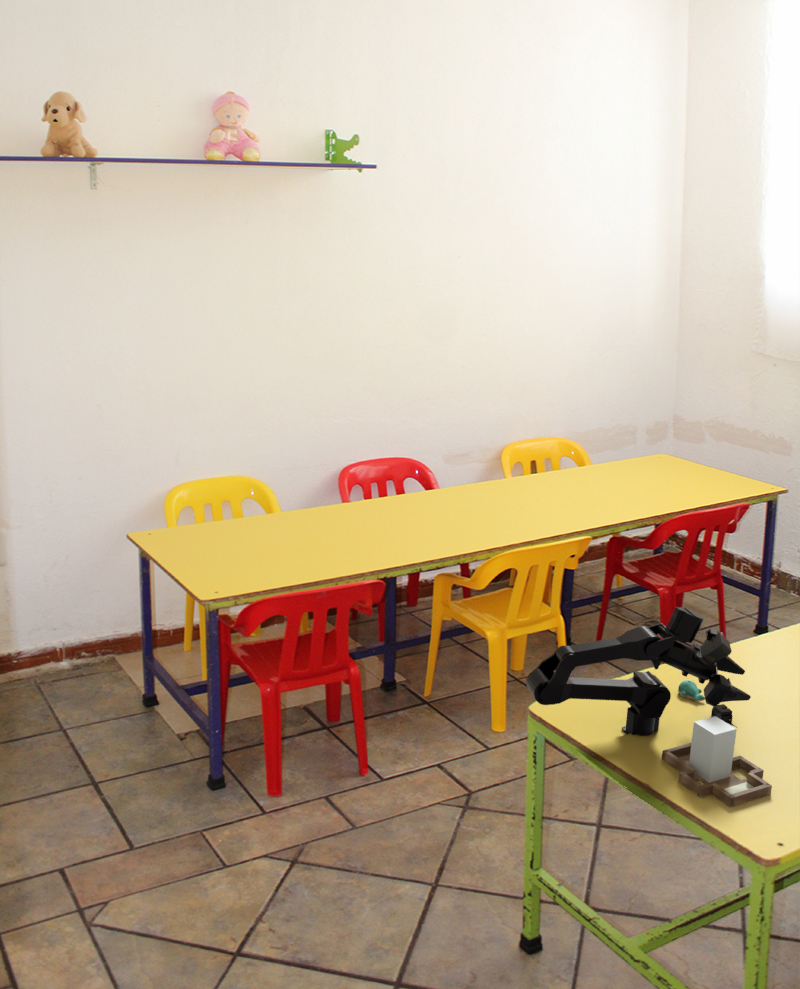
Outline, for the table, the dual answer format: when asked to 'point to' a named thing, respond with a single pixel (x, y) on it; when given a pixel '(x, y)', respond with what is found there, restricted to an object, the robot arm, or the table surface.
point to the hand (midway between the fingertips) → (746, 685)
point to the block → (712, 748)
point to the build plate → (723, 713)
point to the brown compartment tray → (723, 789)
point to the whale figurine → (690, 691)
